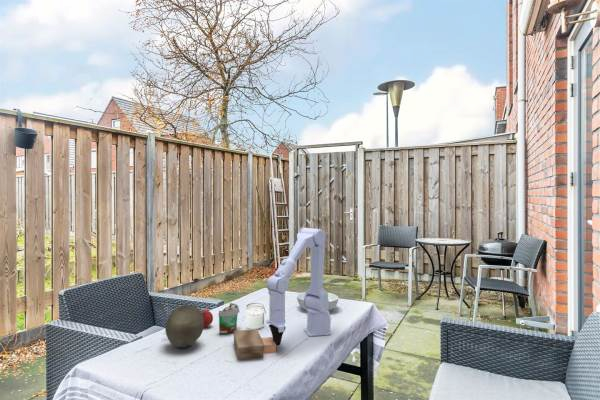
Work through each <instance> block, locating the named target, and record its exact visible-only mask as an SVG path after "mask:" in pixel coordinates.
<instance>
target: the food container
mask: <svg viewBox="0 0 600 400" xmlns="http://www.w3.org/2000/svg"><path fill="white" fill-rule="evenodd" d="M239 313H240V308H239V305H238V304H236V303H233V302H232V303H231V302H230V303H229V305H228V306H227V307H225V308H223V309H222V310H219V311H218V326H219V328H218V329H219V330H218V331H219V332H218V333H219V335H220V336H227V335H232V334H234V331H237V327H238V326H237V325H238V315H239Z"/></svg>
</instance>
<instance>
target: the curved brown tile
mask: <svg viewBox="0 0 600 400" xmlns="http://www.w3.org/2000/svg"><path fill="white" fill-rule="evenodd" d="M261 338H262V337H261V334H260V332H259V330H258V329H255V328H254V329H252V328H251V329H244V330H243V329H242V330H241V329H240V330H236V331H234V333H233V348H234V351H235V354H236V359H237V360H246V359H247V360H249V359H256V358H264V354H263V351H264V348H265V345H264V343H263V341H262V339H261Z"/></svg>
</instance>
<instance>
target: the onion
mask: <svg viewBox="0 0 600 400" xmlns="http://www.w3.org/2000/svg"><path fill="white" fill-rule="evenodd" d="M201 312H202V315H203V318H204V327H203V328H208V327H209V326H210V325H211V324H212V323H213V321H214V320H213V319H214V315H213V313H212V312H211V311H209V309H208V308H205V309H204V310H203V311H201Z"/></svg>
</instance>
